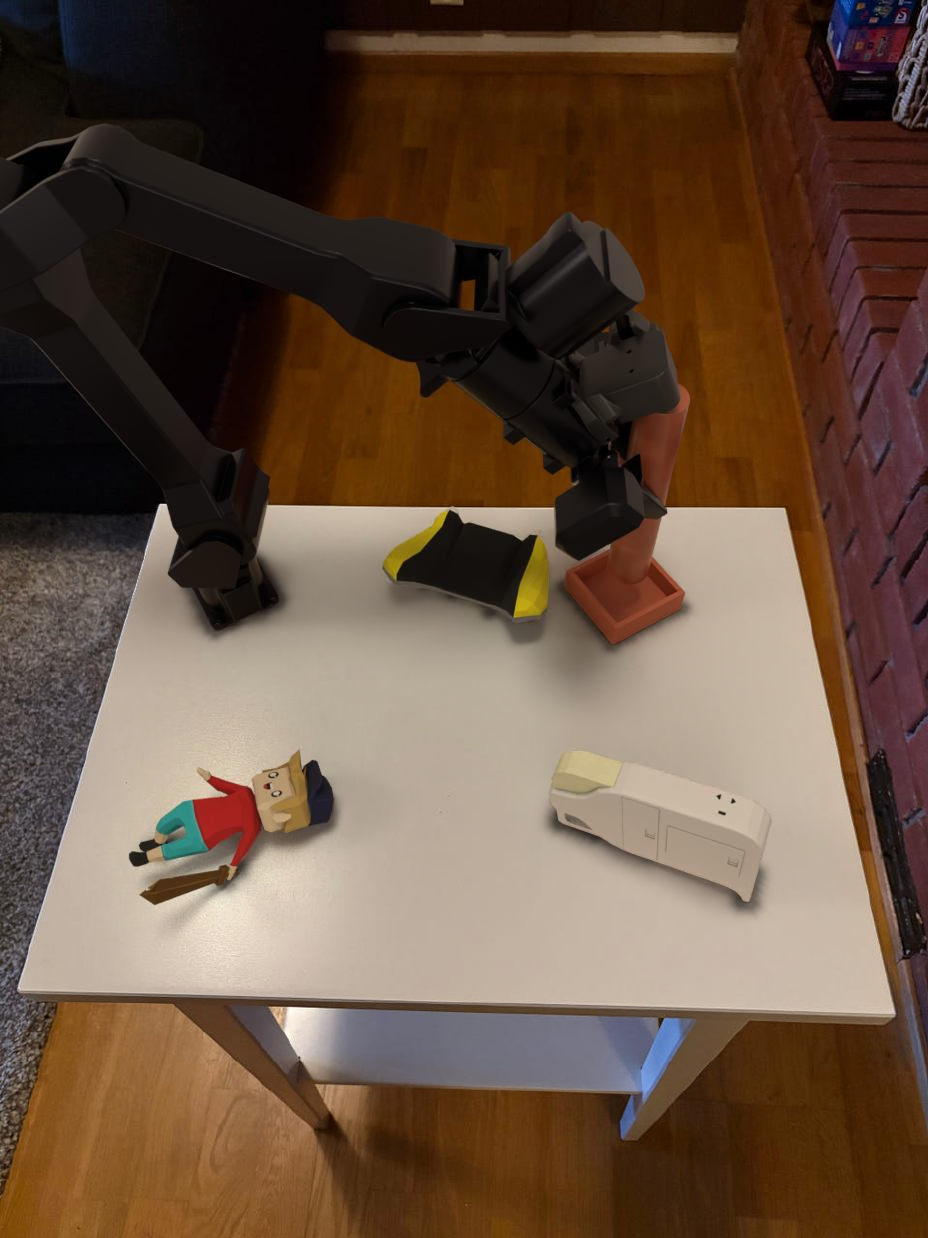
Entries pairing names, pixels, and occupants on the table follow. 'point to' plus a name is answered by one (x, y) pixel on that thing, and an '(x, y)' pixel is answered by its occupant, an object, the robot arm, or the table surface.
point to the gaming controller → (475, 566)
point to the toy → (235, 821)
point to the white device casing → (663, 817)
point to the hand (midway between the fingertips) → (660, 496)
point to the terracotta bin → (622, 597)
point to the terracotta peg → (658, 456)
